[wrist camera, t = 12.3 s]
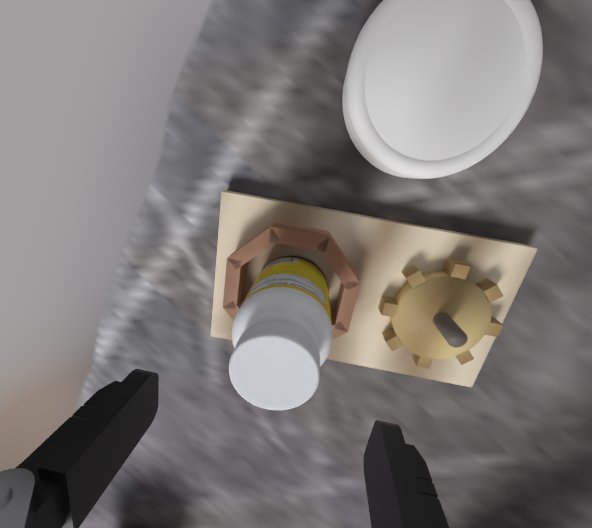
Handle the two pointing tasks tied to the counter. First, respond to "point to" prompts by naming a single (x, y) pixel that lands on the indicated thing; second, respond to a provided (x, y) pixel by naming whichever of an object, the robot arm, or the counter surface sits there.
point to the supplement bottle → (282, 334)
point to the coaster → (440, 82)
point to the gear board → (378, 283)
